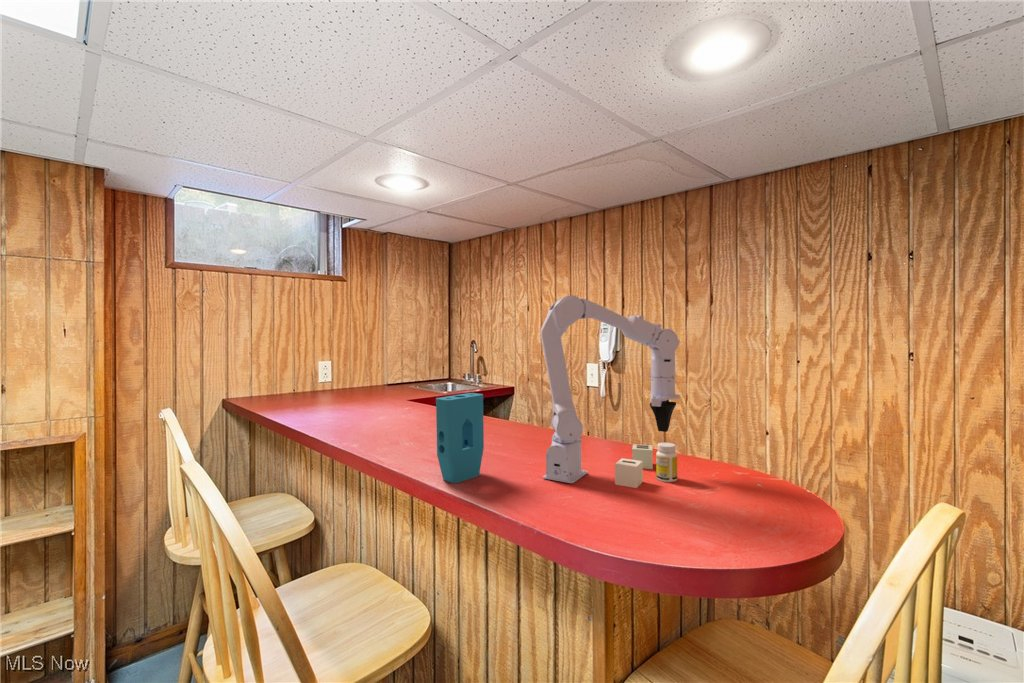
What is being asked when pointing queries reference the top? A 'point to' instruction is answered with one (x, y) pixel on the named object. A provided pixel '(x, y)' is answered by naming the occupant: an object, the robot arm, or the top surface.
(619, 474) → the numbered block one
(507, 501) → the top surface
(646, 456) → the numbered block two
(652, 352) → the robot arm
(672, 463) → the supplement bottle
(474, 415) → the block
